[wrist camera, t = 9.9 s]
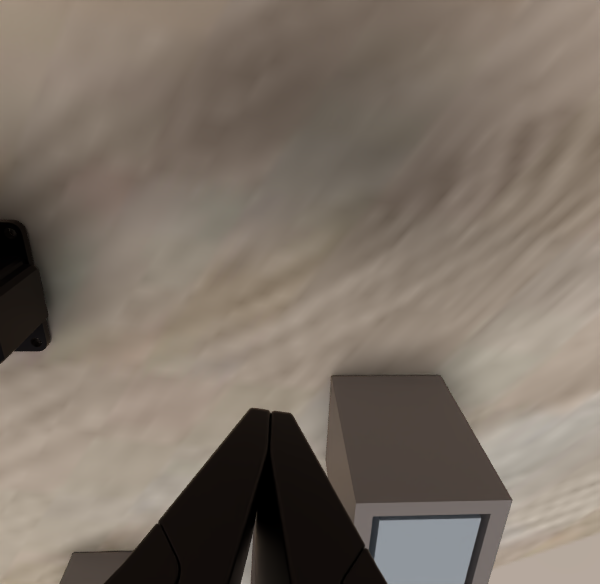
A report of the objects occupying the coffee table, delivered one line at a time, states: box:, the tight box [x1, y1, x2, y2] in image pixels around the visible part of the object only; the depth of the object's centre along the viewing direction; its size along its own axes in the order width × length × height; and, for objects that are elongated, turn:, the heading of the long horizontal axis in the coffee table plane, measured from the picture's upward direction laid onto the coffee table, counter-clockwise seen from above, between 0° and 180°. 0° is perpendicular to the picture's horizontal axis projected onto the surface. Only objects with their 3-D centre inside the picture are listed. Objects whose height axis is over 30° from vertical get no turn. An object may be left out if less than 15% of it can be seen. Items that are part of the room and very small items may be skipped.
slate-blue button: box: [369, 514, 481, 584], centre depth 20 cm, size 4×4×2 cm
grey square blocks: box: [60, 375, 512, 584], centre depth 25 cm, size 22×19×8 cm
